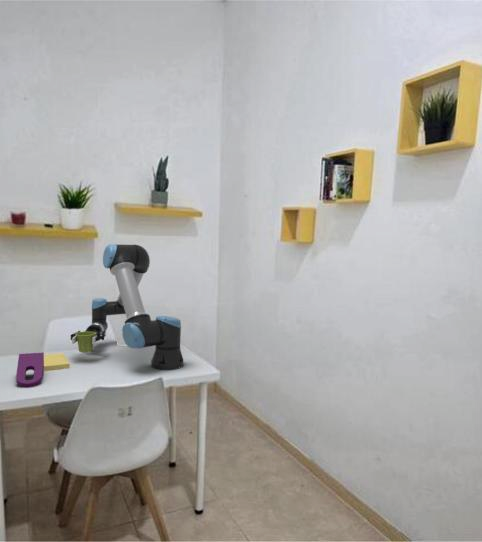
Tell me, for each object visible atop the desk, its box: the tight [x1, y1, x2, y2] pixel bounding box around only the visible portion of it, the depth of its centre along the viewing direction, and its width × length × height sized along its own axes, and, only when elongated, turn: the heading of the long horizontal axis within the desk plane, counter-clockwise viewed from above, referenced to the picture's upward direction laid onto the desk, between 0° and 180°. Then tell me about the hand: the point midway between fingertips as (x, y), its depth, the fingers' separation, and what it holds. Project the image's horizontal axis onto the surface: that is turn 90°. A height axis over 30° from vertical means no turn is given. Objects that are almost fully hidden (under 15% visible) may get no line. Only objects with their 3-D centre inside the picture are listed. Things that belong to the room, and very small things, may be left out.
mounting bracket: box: [15, 352, 45, 388], centre depth 174 cm, size 9×8×18 cm
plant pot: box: [75, 331, 96, 354], centre depth 201 cm, size 9×9×9 cm
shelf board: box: [44, 352, 71, 372], centre depth 196 cm, size 20×12×2 cm, turn 31°
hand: (83, 340), depth 197 cm, fingers closed on plant pot, 8 cm apart
